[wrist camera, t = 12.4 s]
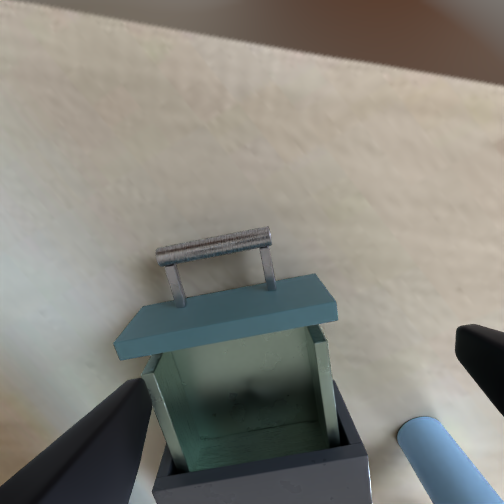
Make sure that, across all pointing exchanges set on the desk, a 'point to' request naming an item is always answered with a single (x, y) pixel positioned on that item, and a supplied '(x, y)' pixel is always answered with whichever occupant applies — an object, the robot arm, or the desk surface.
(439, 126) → the desk surface
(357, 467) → the cabinet
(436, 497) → the water bottle
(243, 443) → the drawer
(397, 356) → the desk surface
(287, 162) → the desk surface
